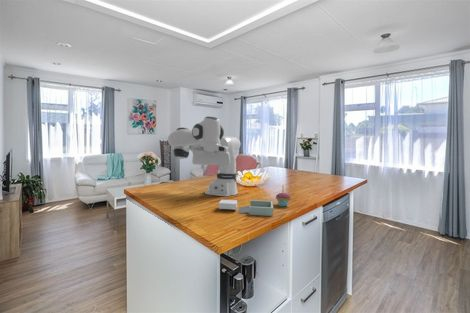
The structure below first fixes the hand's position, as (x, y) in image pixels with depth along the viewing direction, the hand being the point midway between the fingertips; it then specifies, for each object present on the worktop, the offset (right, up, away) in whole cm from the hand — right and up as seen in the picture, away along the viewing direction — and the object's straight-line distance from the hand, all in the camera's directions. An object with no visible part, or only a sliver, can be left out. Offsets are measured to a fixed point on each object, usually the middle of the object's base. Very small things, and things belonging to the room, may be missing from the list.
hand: (211, 173), depth 127 cm
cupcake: (+41, -19, +11) cm, 46 cm away
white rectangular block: (+9, -19, 0) cm, 21 cm away
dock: (+23, -21, -1) cm, 31 cm away
